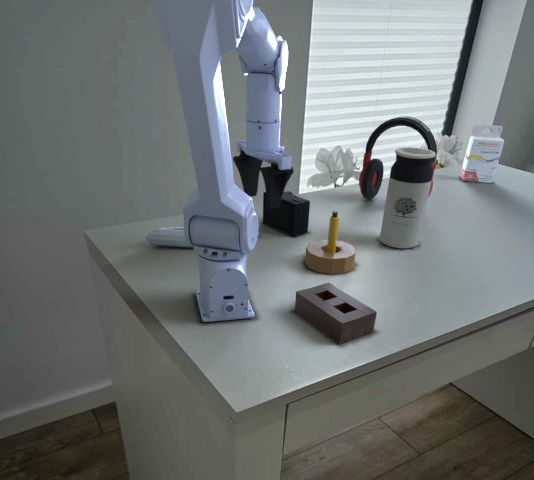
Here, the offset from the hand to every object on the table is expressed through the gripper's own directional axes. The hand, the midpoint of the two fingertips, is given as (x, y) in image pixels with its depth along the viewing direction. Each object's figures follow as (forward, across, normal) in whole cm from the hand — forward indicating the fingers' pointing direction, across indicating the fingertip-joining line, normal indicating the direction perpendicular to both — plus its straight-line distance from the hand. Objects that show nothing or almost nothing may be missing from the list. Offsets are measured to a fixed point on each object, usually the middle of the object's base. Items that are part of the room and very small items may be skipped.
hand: (261, 201), depth 89 cm
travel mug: (+11, -8, -29) cm, 32 cm away
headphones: (+11, +12, -47) cm, 49 cm away
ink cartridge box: (+11, +16, -86) cm, 88 cm away
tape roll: (+10, -10, -9) cm, 17 cm away
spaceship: (+11, +12, +6) cm, 17 cm away
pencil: (+10, -10, -9) cm, 17 cm away
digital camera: (+11, +10, -13) cm, 20 cm away
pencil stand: (+10, -27, +4) cm, 29 cm away
